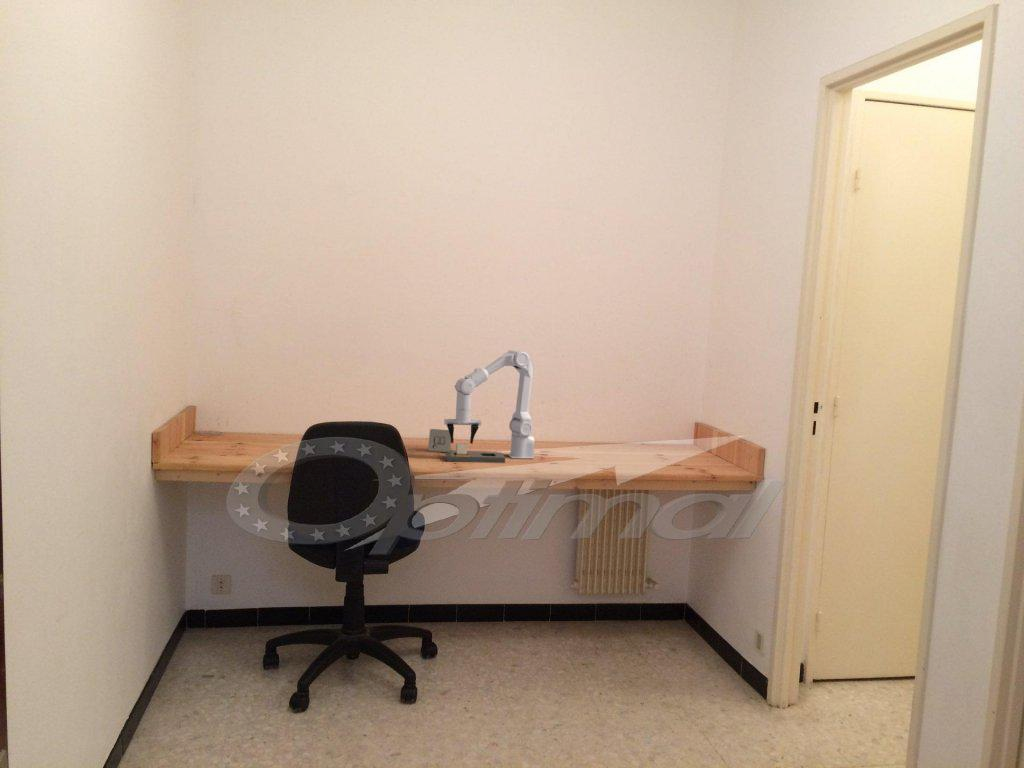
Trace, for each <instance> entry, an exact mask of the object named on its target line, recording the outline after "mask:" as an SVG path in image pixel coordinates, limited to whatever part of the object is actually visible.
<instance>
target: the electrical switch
mask: <svg viewBox="0 0 1024 768" xmlns="http://www.w3.org/2000/svg"><path fill="white" fill-rule="evenodd" d="M427 444H428V447H427V450H428V452H436V453H445V451H448V452H452V449H451V448H452V443H451V437H450V433H449V430H448V429H440V428H439V429H438V428H437V429H436V428H430V429H429V434H428V443H427Z"/></svg>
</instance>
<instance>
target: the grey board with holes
mask: <svg viewBox="0 0 1024 768" xmlns="http://www.w3.org/2000/svg"><path fill="white" fill-rule="evenodd" d="M455 454H456V451H450V452H448V451H445V452H444V459H445V461H446V462H452V463H461V462H462V463H463V462H464V463H496V464H497V463H503V464H505V463H506V457H505V456H504V454H503V453H502V452H494V451H493V452H490V451H489V452H488V451H487V452H486V451H467V455H455Z"/></svg>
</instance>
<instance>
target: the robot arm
mask: <svg viewBox="0 0 1024 768" xmlns="http://www.w3.org/2000/svg"><path fill="white" fill-rule="evenodd" d="M504 367H513V368H514V369H515V370H516V371H517V372H518V373H519V379H518V388H517V397H516V405H515V406H516V407H515V411H514V413H513V414H512V415H511V416H512V417H511V420H510V422H509V424H508V425H509V430H510V431H511V436H510V437H511V438H510V452H509V453H508V454H507V455H508V457H510V458H511V459H534V458H535V457H534V455H535V454H534V453H535V437H534V435H531V434H532V431H533V424H532V417H531V415H530V405H531V404H530V403H531V395H532V386H533V379H534V367H533V365H532V362H531V356H530V355H529V354H528V353H527V352H525V351H521V350H515V349H509V350H508V351H506V352H504V353H503V354H501V356H499V357H498V358H497V359H494V361H492V362H491V363H489V364H487V366H485V367H484V368H482V367H479V368H478V367H476V368H475V369H474V371H473V372H471V373H468V374H466V375H464V378H459V379H457V381H456V382H455V384H454V389H455V391H456V402H455V404H456V405H455V409H456V410H455V418H444V420H443V421H444V422H443V425H444V426H446V428H447V430H449V433H450V437H451V444H454V432H455V431H454V430H455V427H454V425H455V426H456V425H457V426H458V425H460V426H470V437H469V438H470V439H469V440H470V441H469V443H470V444H472V445H473V442H474V439H475V437H476V436H475V435H476V433H477V432H478V430H479V428H480V427H481V426H482V420H481V419H471V413H472V412H471V411H472V410H471V409H472V408H471V407H472V406H471V405H472V393H473V392H474V390H475V389H476V388H477V387H479V386H480V385H482V384H483V383H485V382H486V381H488V379H489V376H490V375H492V374H494V373H495V372H497V371H499V370H501V369H502V368H504ZM479 426H480V427H479Z"/></svg>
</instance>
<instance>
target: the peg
mask: <svg viewBox="0 0 1024 768" xmlns="http://www.w3.org/2000/svg"><path fill="white" fill-rule="evenodd" d="M455 452H456V454H455V455H467V452H468V445H467V443H455Z"/></svg>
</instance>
